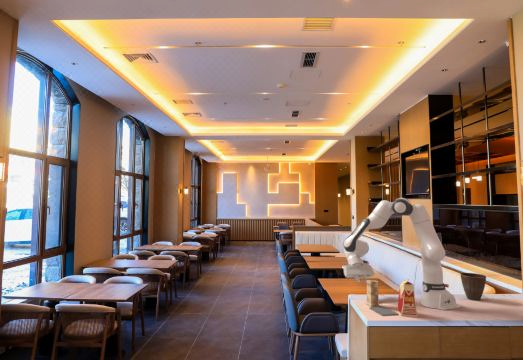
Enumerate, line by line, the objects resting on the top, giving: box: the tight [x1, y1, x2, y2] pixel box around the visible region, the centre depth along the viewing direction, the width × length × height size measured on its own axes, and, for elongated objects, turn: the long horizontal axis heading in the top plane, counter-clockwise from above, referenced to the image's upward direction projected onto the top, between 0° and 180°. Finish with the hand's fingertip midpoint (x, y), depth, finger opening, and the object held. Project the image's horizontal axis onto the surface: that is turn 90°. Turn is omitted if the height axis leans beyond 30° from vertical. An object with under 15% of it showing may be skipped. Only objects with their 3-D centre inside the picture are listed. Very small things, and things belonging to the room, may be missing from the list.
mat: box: [369, 306, 399, 317], centre depth 201 cm, size 10×14×1 cm
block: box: [366, 279, 380, 307], centre depth 213 cm, size 5×5×15 cm
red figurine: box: [396, 278, 419, 318], centre depth 198 cm, size 9×9×20 cm
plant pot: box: [459, 272, 487, 302], centre depth 231 cm, size 15×15×16 cm
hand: (362, 282), depth 225 cm, fingers open, 2 cm apart
